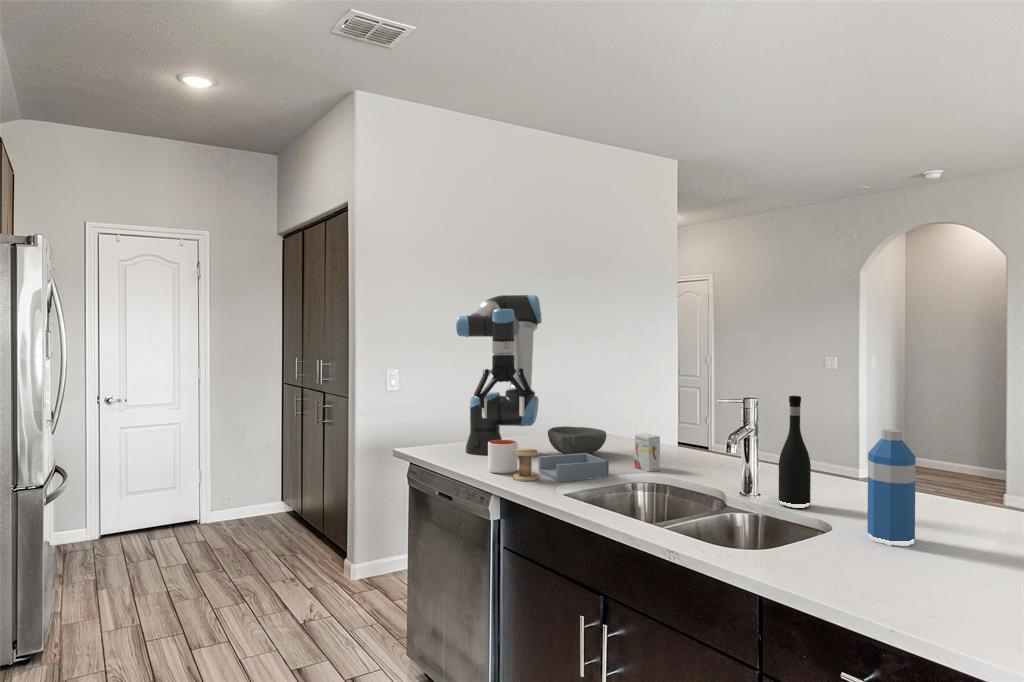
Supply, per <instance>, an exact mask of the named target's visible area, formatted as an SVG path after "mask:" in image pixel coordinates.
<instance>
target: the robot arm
mask: <svg viewBox="0 0 1024 682" xmlns="http://www.w3.org/2000/svg"><path fill="white" fill-rule="evenodd" d="M541 310H542V309H541V303H540V299H539V297H538V296H537V295H530V294H524V295H522V294H516V295H515V294H514V295H513V294H509V295H508V294H507V295H506V294H504V295H502V294H500V295H497V296H494V297H491V298H490V297H489V299H486V300H484V301H483V302H480V304H479V306H478V307H477V309H476V310H475V311H473V312H472V313H471V314H470V315H466V314H465V315H459V316H458V317H457V318H456V322H455V323H456V324H455V327H456V328H455V329H456V333H457V336H458V337H465V338H469V337H471V338H472V337H474V338H475V337H477V338H478V337H481V338H482V337H486V338H487V337H488V338H490V337H491V338H492V342H491V345H492V346H491V347H492V349H491V351H492V354H493V355H492V356H491V357H492V360H491V363H492V367H491V369H488V368H483V371H482V376H481V378H480V380H479V382H478V384H477V386H476V389H475V391H474V393H473V395H472V396H471V397H470V400H469V401H470V405H469V420H470V421H469V425H470V427H469V430H470V431H469V436H468V437H467V441H466V445H465V452H466V453H467V454H471V455H477V456H479V455H481V456H483V455H484V456H485V455H487V456H488V442H489V441H493V440H503V438H502V435H501V433H500V432H501V431H500V429H501V428H500V426H502V427H503V426H507V427H509V426H510V427H514V426H516V427H530V426H533V425H534V424H535V423H536V420H537V417H538V411H539V397H538V396H537V395H536V392H535V390H534V389H533V388H532V384H533V382H532V381H533V380H532V378H533V355H534V354H533V353H534V331H536V330H537V329H538V325H540V324H541V323H542V321H543V320H542V311H541ZM490 375H492V378H491V379H490V381H489V382H488V383H486V382H487V380H488V378H489V376H490ZM498 382H499V383H504V382H505V383H509V387H508V388H507V389H506V390H505V395H501V393H500V391H494V392H493V391H491V389H493V388H494V386H495V385H496V384H497V383H498ZM486 384H487V385H486Z"/></svg>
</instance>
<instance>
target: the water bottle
mask: <svg viewBox="0 0 1024 682" xmlns="http://www.w3.org/2000/svg"><path fill="white" fill-rule="evenodd" d="M916 459H917V458H916V455H915V454H914V452H912V450H911V449H910V448H909V447H908V446H907V444H906V443H905V442H904V441H903V431H902V430H900V429H899V430H898V429H893V428H892V429H887V428H884V429H881V430H880V439H878V441H877V442H876V443H875V445H874V446H873V447H872V448H871V449H870V450H869V452H868V453H867V532H868V533H869V534H871V535H872V536H873V537H876V538H881V539H885V540H889V541H910V540H912V539H915V540H916V535H915V534H916Z"/></svg>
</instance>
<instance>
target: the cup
mask: <svg viewBox="0 0 1024 682" xmlns="http://www.w3.org/2000/svg"><path fill="white" fill-rule="evenodd" d="M518 445H519V443H518V441H516V440H511V439H502V440H493V441H489V442H488V455H487V468H488V470H489V472H491V473H493V474H499V475H502V474H505V475H506V474H512V473H515V472H516V471H517V470H518V468H519V456H517V455H514V454H513V450H515V449H519V447H518Z"/></svg>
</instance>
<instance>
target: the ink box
mask: <svg viewBox="0 0 1024 682" xmlns="http://www.w3.org/2000/svg"><path fill="white" fill-rule="evenodd" d="M660 454H661V437H660V436H659V435H656V434H652V433H648V432H645V433H644V432H643V433H637V434H634V468H635V467H636V469H638V470H642V471H646V472H649V473H650V472H658V471H657V470H661V459H660V458H661V455H660Z"/></svg>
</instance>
